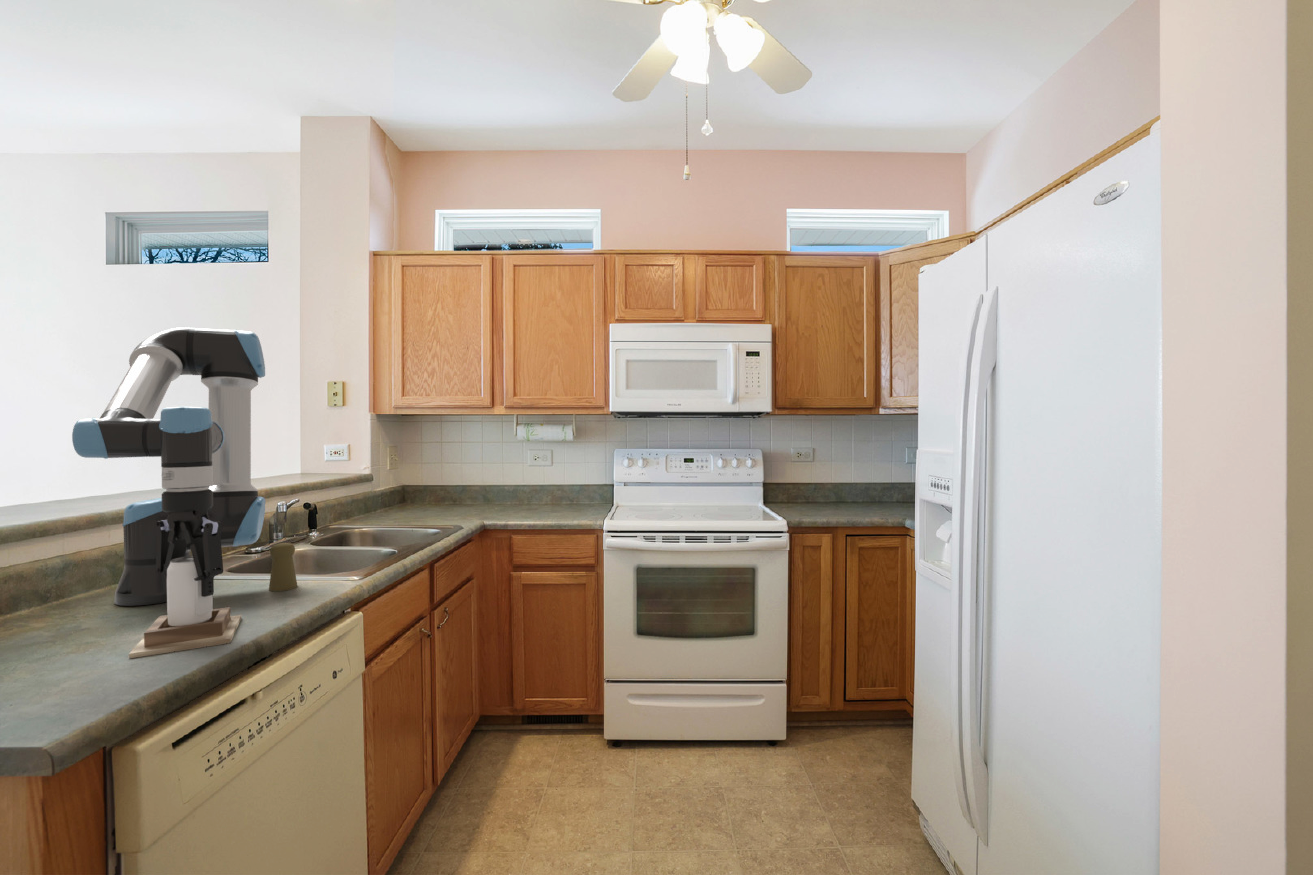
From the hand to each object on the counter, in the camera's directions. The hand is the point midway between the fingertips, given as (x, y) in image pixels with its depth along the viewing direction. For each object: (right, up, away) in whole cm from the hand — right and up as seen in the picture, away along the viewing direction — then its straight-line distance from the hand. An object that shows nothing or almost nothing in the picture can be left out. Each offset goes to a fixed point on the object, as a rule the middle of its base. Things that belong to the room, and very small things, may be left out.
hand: (190, 611), depth 110 cm
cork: (-4, -5, +34) cm, 35 cm away
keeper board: (0, -5, 0) cm, 5 cm away
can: (0, -2, 0) cm, 2 cm away
